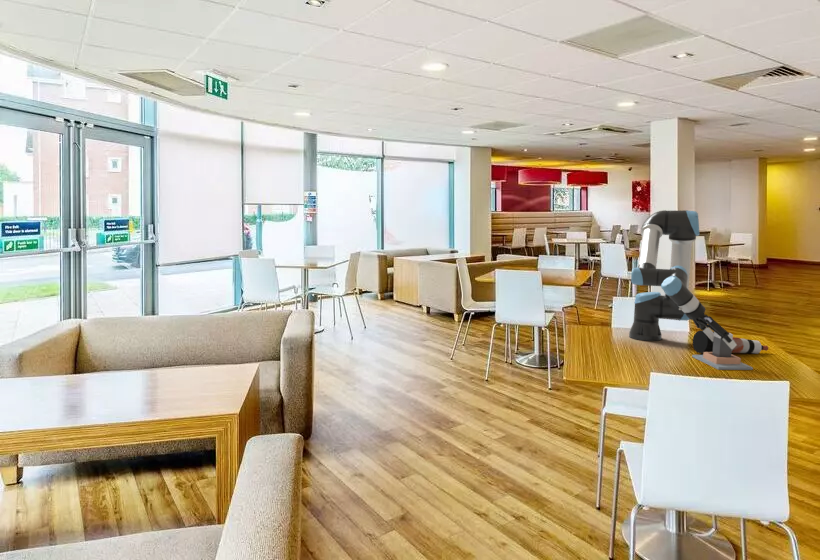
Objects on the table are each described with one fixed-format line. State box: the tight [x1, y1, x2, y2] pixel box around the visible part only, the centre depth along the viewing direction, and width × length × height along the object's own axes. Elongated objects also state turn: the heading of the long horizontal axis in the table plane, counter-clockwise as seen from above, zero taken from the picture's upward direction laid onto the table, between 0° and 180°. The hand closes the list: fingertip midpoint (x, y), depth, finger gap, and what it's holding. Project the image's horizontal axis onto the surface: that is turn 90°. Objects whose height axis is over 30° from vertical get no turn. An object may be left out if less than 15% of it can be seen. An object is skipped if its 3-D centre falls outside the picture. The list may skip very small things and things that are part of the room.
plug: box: [712, 331, 734, 357], centre depth 231 cm, size 5×5×12 cm
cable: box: [692, 330, 769, 355], centre depth 249 cm, size 10×34×10 cm
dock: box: [692, 352, 754, 371], centre depth 232 cm, size 20×14×4 cm
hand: (724, 343), depth 231 cm, fingers open, 13 cm apart
